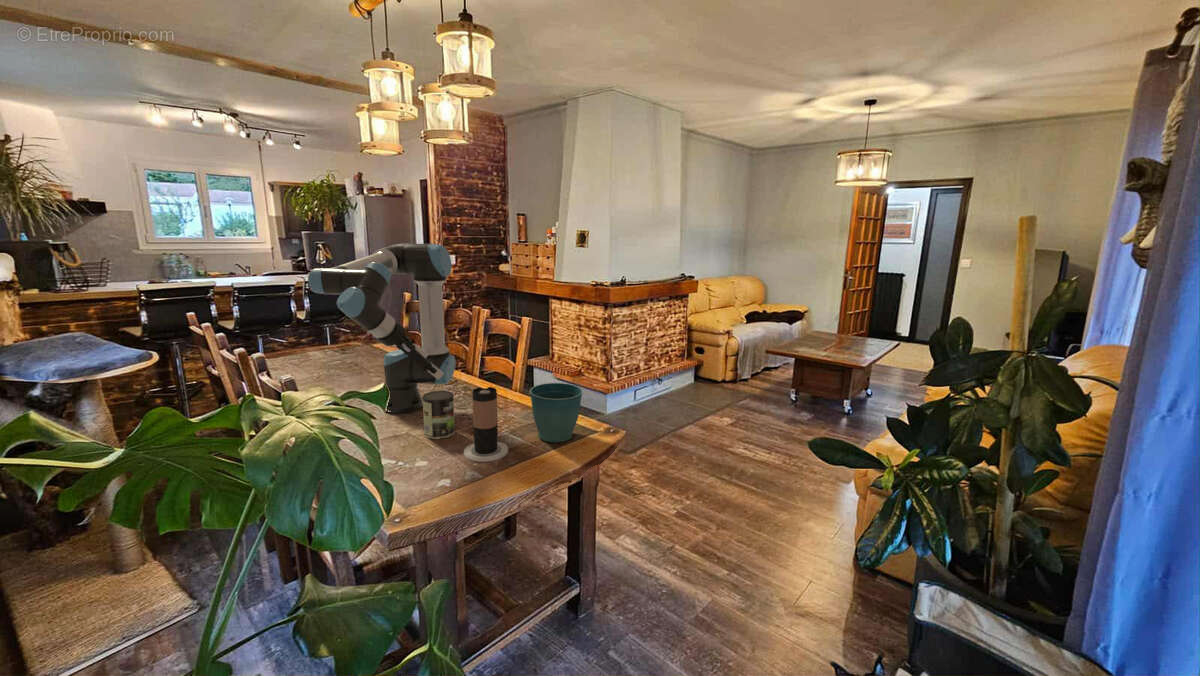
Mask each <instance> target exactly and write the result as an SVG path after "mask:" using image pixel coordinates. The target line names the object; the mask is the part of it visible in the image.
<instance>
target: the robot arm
mask: <svg viewBox="0 0 1200 676" xmlns="http://www.w3.org/2000/svg"><path fill="white" fill-rule="evenodd" d="M452 266H453V265H452V259H451V254H450V253H449V251H448V249H447V248H446V247H445V245H442V244H436V243H408V242H405V243H402V242H401V243H395V244H392V245H389V246H386V247H383V248H380V249H376V250H375V251H374V252H373V253H372V254H370V255H368V256H365V257H361V258H359V259H355V260H353V261H349V262H346V263H344V264H340V265H336V266H333V267H330V268H329V267H328V268H325V267H320V268H313V269H312V270H310V272H309V273H308V276H307V282H308V287H309V289H310V290H311V291H312V292H313V293H314V294H322V295H324V296H326V295H339V297H338V298H337V300H336V306H337V308H338V309H339V310H340V311H341V312H342V313H343V314H344V315H345V316H346V317H348V318H350V319H351V320H352V321H353V322H355V323H356V324H357V325H359V326H360V327H361V328H362V329H364V330H365V331H366V334H367V335H372V336H373V337H374V338H376V339H377V340H378V341H379V342H381V343H382V344H383V345H385V346H386V347H391V346H394V345H396V346H395V347H396V348H397V350H392V351H390V352H386V354H384V357H383V370H384V384H386V385H387V386H388V388H389V391H390V399H389V402H388V406H387V412H386V413H388V410H389V411H391V412H393V413H392V414H406V413H410V412H414V411H417V410H420V409H421V408H423V399H422V396H421V395H422V394H421V393H420V390H419V387H418V384H425V385H427V384H429V385H435V386H437V385H447V384H448V383H450V382H451V380H452V379H453V376H454V374H455V370H456V357H455V355H453V354H450V348H448V346H446V337H445V335H446V333H445V315H444V314H445V313H444V312H445V311H444V299H443V298H444V293H443V285H444V284H445V282H446V281H447V277H449V276H450V275H451V274H452ZM392 275H406V276H407V275H408V276H413V282H414V283H416V285H417V287H418V290H417V291H418V304H419V322H420V338H421V339H420V340H421V347H419V346H418V345H417V344H416V341H415V340H414V339H410V338H409V337H408V336H406V335H405V331H406V330H405V327H404V325H402V324H401V323H400V322H399V321H397V320H396V319H395V318H394V317H393V316H392V315H391V314H389V313H388V311H386V310H384V309H383V308H382V307H381V306H380V304H381V301H382V299H383V297H384V294H385V292H386V290H387V289H388V287H389V284H390V281H391V278H392ZM386 385H385V386H386Z"/></svg>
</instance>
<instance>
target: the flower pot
mask: <svg viewBox="0 0 1200 676" xmlns="http://www.w3.org/2000/svg"><path fill="white" fill-rule="evenodd" d="M529 395H530V400H531V411H532V416H533V417H532V418H533V421H534V423H535V427H536V429H537V434H538V438H539V439H541V440H542V441H545V442H547V443H563V442H567V441H569V440H570V439H572V438H573V435H574V434H573V433H574V429H575V427H576V424H577V422H578V420H579V416H580V415H579V414H580V409H581V401H582V395H583V389H582V388H581V387H579V386H577V385H575V384H571V383H564V382H547V383H541V384H537V385H534V386H533V387H531V388H530V390H529Z"/></svg>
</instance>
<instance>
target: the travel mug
mask: <svg viewBox="0 0 1200 676" xmlns="http://www.w3.org/2000/svg"><path fill="white" fill-rule="evenodd" d="M471 393H472V426H473V427H472V429H473V443H474V447H475V452H477V453H479V454H490V453H493V452H495V451H496V450H497V441H498V434H499V433H498V432H499V431H498V430H499V429H498V394H497V388H495V387H491V386H488V387H487V388H482V387H476V388H474V389H473V390H472V392H471Z"/></svg>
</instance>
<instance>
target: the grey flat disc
mask: <svg viewBox="0 0 1200 676" xmlns="http://www.w3.org/2000/svg"><path fill="white" fill-rule="evenodd" d="M508 453H509V446H508V444H506V443H504V442H501V441H498V440H497V450H496V451H495V452H493V453H490V454H479V453H477V452H475V447H474V442H473V443H471V444H468V445H467V446H466V447H464V450H463V456H464V458H465V459H466V460H468V461H472V462H475V463H488V462H495V461H498V460H500V459H503V458H504V457H506V456H507V455H508Z"/></svg>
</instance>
